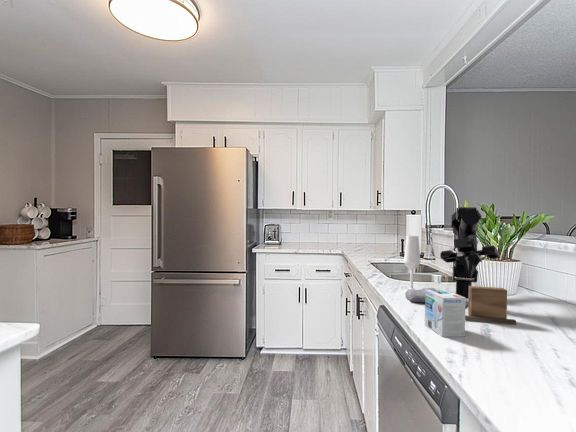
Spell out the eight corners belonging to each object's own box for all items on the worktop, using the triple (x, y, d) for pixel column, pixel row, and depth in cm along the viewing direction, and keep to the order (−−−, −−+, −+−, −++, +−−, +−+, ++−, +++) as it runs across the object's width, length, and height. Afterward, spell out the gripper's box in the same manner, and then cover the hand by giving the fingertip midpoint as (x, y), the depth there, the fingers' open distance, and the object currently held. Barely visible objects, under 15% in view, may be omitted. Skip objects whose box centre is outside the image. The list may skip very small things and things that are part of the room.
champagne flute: (417, 294, 145) (418, 236, 144) (401, 292, 148) (402, 236, 148) (421, 292, 150) (422, 236, 150) (405, 289, 154) (406, 235, 154)
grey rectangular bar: (464, 319, 111) (464, 315, 111) (514, 323, 108) (514, 319, 108) (465, 320, 110) (465, 316, 110) (516, 324, 106) (516, 320, 106)
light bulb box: (423, 324, 105) (424, 289, 105) (445, 324, 106) (445, 288, 106) (442, 337, 94) (443, 297, 94) (466, 337, 95) (466, 297, 95)
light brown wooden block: (468, 316, 115) (468, 285, 115) (502, 318, 113) (502, 287, 112) (471, 319, 111) (471, 288, 111) (506, 322, 109) (507, 290, 109)
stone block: (444, 307, 129) (435, 296, 139) (444, 295, 128) (435, 285, 138) (410, 308, 130) (404, 297, 140) (410, 296, 129) (404, 286, 139)
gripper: (434, 232, 134) (434, 270, 127) (488, 223, 121) (491, 266, 114) (446, 243, 140) (446, 280, 133) (498, 236, 128) (501, 277, 121)
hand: (469, 276), depth 125 cm, fingers closed
